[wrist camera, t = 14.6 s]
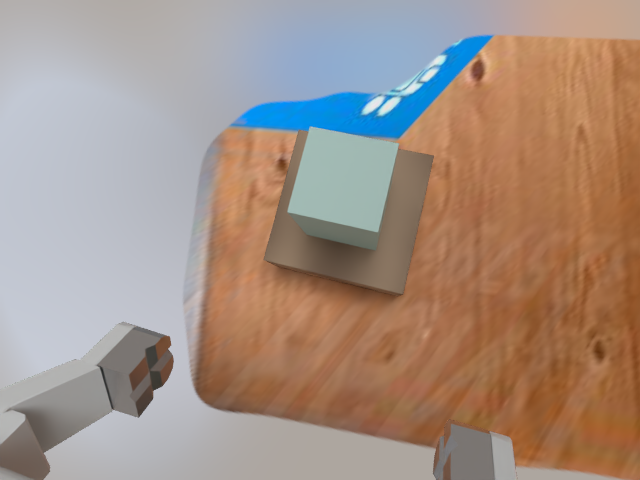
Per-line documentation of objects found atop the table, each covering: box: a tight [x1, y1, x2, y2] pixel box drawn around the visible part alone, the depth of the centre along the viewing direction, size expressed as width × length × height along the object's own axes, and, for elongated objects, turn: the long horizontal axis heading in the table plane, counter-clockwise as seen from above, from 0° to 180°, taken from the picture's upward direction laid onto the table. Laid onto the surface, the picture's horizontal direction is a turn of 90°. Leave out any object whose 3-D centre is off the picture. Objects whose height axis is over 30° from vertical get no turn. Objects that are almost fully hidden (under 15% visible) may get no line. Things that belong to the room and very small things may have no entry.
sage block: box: [287, 127, 399, 251], centre depth 25 cm, size 5×5×7 cm
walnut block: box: [264, 130, 434, 296], centre depth 31 cm, size 10×10×5 cm
